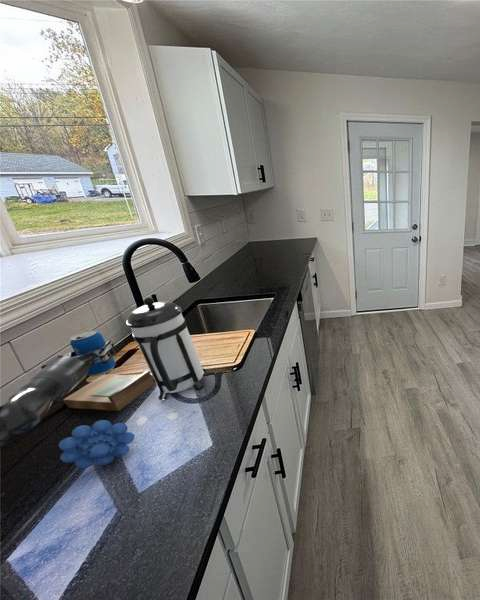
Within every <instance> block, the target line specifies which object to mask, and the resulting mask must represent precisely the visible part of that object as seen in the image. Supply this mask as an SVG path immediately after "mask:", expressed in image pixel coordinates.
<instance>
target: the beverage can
mask: <svg viewBox="0 0 480 600" xmlns="http://www.w3.org/2000/svg"><path fill="white" fill-rule="evenodd" d="M69 340H70V343H69V344H70V346H71V348H72V349H73V350H74V351H75V353H76V355H80V354H84V353H86V352H88V351H90V350H92V349H94V350H96V349H98V348H100V347H101V346H103V345H104V344H105V343H106V341H105V338H104V337H103V334H102V333H101V332H99V331H98V330H97V329H89V330H86V331H85V330H84V331H82V332H77V333H76V334H74V335H72V336H71V337H70V338H69ZM73 350H72V351H73ZM101 353H102V351H99V354H101ZM90 355H92V357H93V358H94V356H93V354H90ZM94 359H95V358H94ZM116 365H117V362H116V360H115V358H114V356H113V357H112V358H111V359H110V361H109V362H108V363H106V364H103V363H102V362H97V363H95V365H93V366H91V367H90V368H89V369H88V373H87V375H88V376H93V377H97V376H100V375H101V376H102V375H104V374H106V373H107V374H108V373H109V372H110V371H112V370H113V369H114V368H115V366H116Z"/></svg>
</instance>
